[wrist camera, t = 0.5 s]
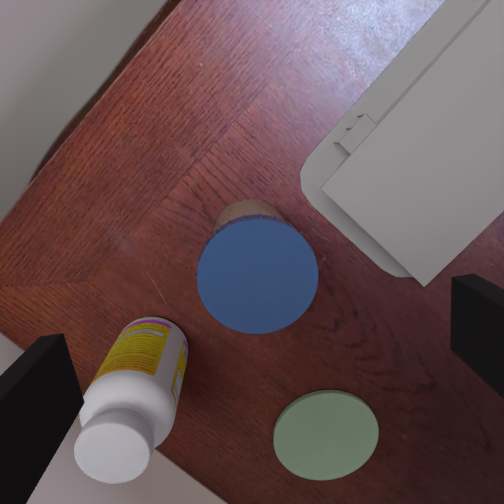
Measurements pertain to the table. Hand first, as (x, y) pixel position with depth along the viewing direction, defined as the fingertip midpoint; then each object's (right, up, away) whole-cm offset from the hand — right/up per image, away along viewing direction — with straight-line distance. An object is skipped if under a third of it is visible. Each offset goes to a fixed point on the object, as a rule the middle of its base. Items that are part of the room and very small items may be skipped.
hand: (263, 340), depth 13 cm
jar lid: (0, +1, +10) cm, 10 cm away
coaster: (+7, -16, +26) cm, 32 cm away
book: (+16, +13, +19) cm, 28 cm away
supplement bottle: (-10, -6, +23) cm, 25 cm away
